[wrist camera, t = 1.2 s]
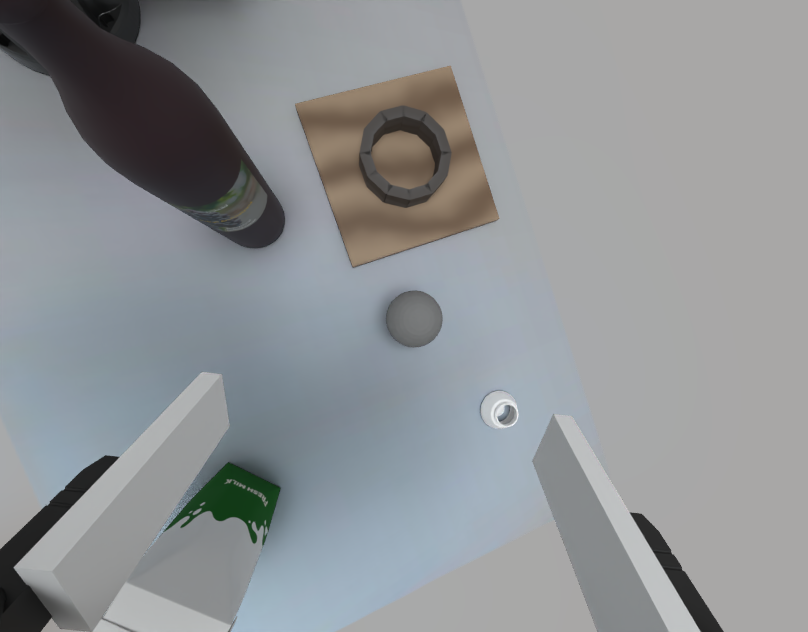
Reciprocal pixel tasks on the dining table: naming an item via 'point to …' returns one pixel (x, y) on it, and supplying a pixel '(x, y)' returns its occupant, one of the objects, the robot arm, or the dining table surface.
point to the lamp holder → (398, 164)
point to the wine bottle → (148, 120)
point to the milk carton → (199, 560)
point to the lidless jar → (498, 409)
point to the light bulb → (414, 318)
